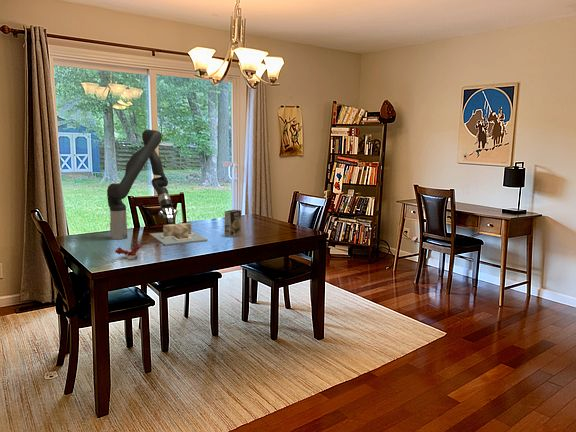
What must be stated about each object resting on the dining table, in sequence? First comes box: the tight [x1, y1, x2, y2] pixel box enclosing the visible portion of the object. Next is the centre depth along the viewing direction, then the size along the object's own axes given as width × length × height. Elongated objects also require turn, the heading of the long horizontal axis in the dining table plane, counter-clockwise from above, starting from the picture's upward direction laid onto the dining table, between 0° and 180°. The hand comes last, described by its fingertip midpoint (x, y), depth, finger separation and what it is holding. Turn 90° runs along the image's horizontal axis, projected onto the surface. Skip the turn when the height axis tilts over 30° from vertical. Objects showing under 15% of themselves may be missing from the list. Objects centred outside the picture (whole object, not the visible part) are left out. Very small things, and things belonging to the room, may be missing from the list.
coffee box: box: [224, 209, 242, 238], centre depth 287 cm, size 9×6×16 cm
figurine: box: [114, 243, 143, 260], centre depth 232 cm, size 15×12×7 cm
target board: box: [150, 230, 209, 247], centre depth 278 cm, size 26×32×2 cm
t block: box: [162, 222, 192, 239], centre depth 276 cm, size 16×15×7 cm
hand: (171, 223), depth 287 cm, fingers closed
